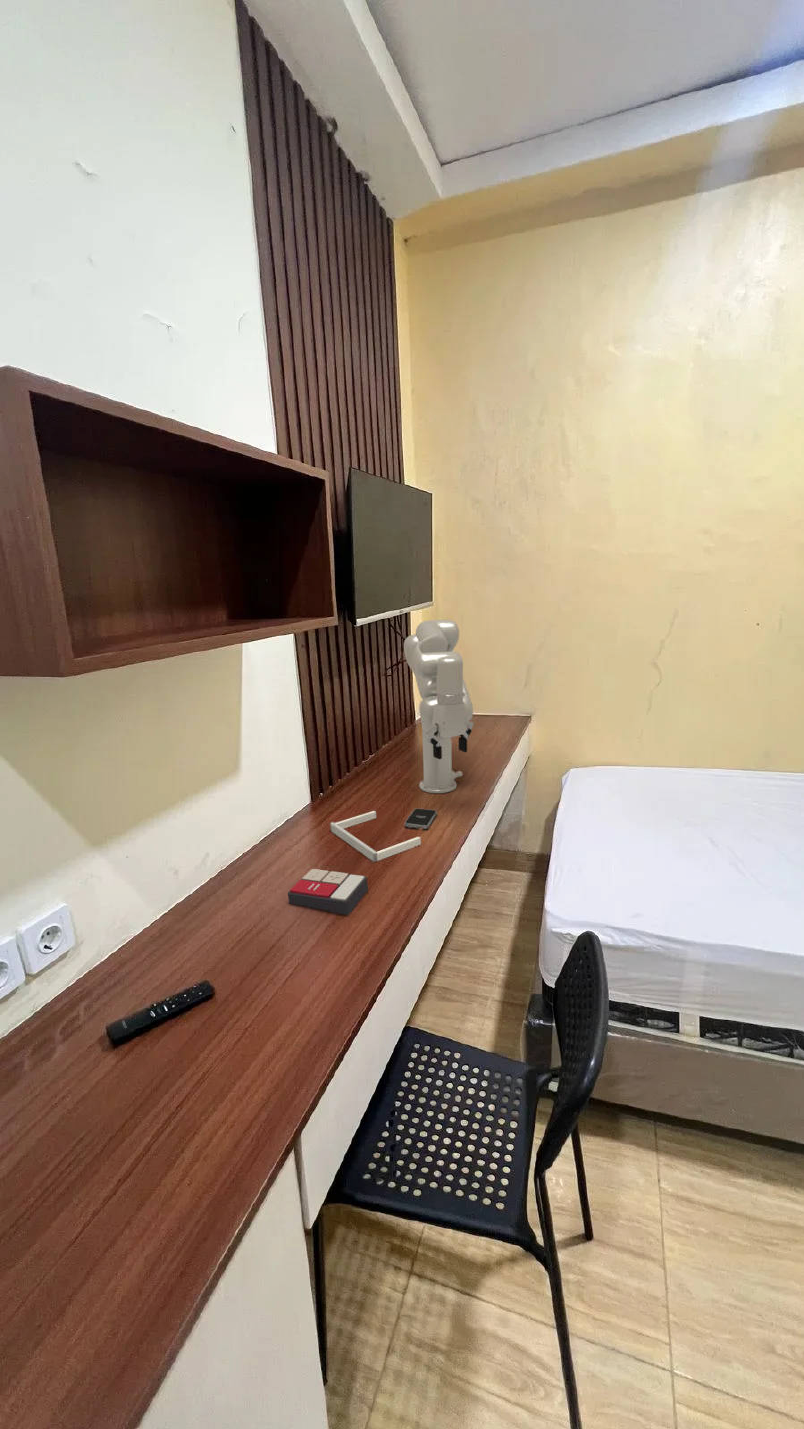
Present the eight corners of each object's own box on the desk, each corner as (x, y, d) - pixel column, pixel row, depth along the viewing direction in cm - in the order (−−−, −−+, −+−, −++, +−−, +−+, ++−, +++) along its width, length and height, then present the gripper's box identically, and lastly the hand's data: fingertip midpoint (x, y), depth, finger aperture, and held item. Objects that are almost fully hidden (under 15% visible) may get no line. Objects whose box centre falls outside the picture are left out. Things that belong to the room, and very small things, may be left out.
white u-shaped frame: (374, 816, 171) (374, 809, 170) (420, 844, 152) (420, 836, 152) (330, 830, 162) (330, 822, 162) (374, 862, 144) (373, 853, 143)
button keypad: (311, 866, 137) (367, 873, 131) (313, 882, 137) (369, 890, 132) (286, 890, 127) (345, 899, 121) (288, 907, 128) (348, 916, 122)
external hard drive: (404, 829, 163) (404, 823, 162) (415, 814, 173) (415, 807, 172) (427, 832, 160) (427, 825, 160) (437, 816, 171) (437, 810, 170)
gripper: (464, 692, 172) (464, 745, 176) (418, 701, 162) (419, 757, 167) (480, 696, 166) (480, 751, 170) (434, 706, 156) (435, 764, 161)
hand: (450, 754), depth 169 cm, fingers open, 9 cm apart
